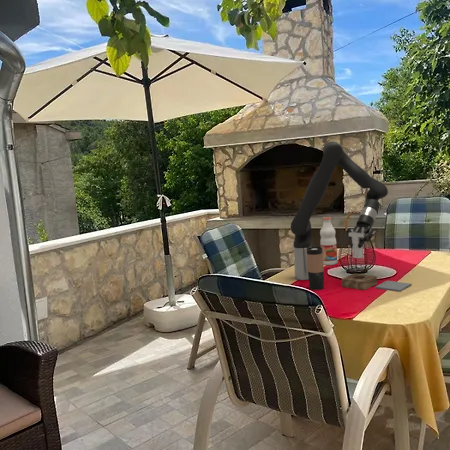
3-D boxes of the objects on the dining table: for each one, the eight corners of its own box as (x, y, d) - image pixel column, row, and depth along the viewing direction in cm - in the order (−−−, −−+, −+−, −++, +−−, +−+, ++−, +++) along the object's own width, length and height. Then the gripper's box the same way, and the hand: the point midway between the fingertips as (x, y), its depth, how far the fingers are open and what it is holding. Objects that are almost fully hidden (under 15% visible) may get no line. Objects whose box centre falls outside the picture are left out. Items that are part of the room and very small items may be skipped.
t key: (348, 257, 215) (347, 233, 214) (352, 255, 217) (351, 231, 216) (363, 258, 209) (362, 234, 208) (367, 257, 212) (366, 232, 210)
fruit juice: (329, 261, 272) (326, 216, 269) (341, 263, 264) (338, 217, 261) (318, 263, 267) (315, 218, 264) (329, 266, 259) (326, 219, 256)
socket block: (342, 286, 215) (341, 278, 215) (354, 280, 223) (354, 273, 223) (364, 290, 207) (364, 281, 206) (377, 284, 215) (376, 276, 214)
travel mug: (325, 285, 220) (322, 246, 217) (324, 290, 213) (321, 249, 210) (309, 285, 222) (307, 247, 219) (308, 290, 215) (305, 250, 212)
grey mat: (375, 288, 208) (375, 286, 208) (387, 282, 216) (387, 280, 216) (400, 291, 199) (400, 290, 199) (411, 285, 208) (411, 283, 207)
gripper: (351, 213, 221) (339, 241, 214) (377, 214, 211) (365, 243, 204) (357, 222, 225) (345, 250, 219) (383, 223, 215) (371, 252, 208)
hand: (355, 246), depth 211 cm, fingers closed on t key, 3 cm apart
